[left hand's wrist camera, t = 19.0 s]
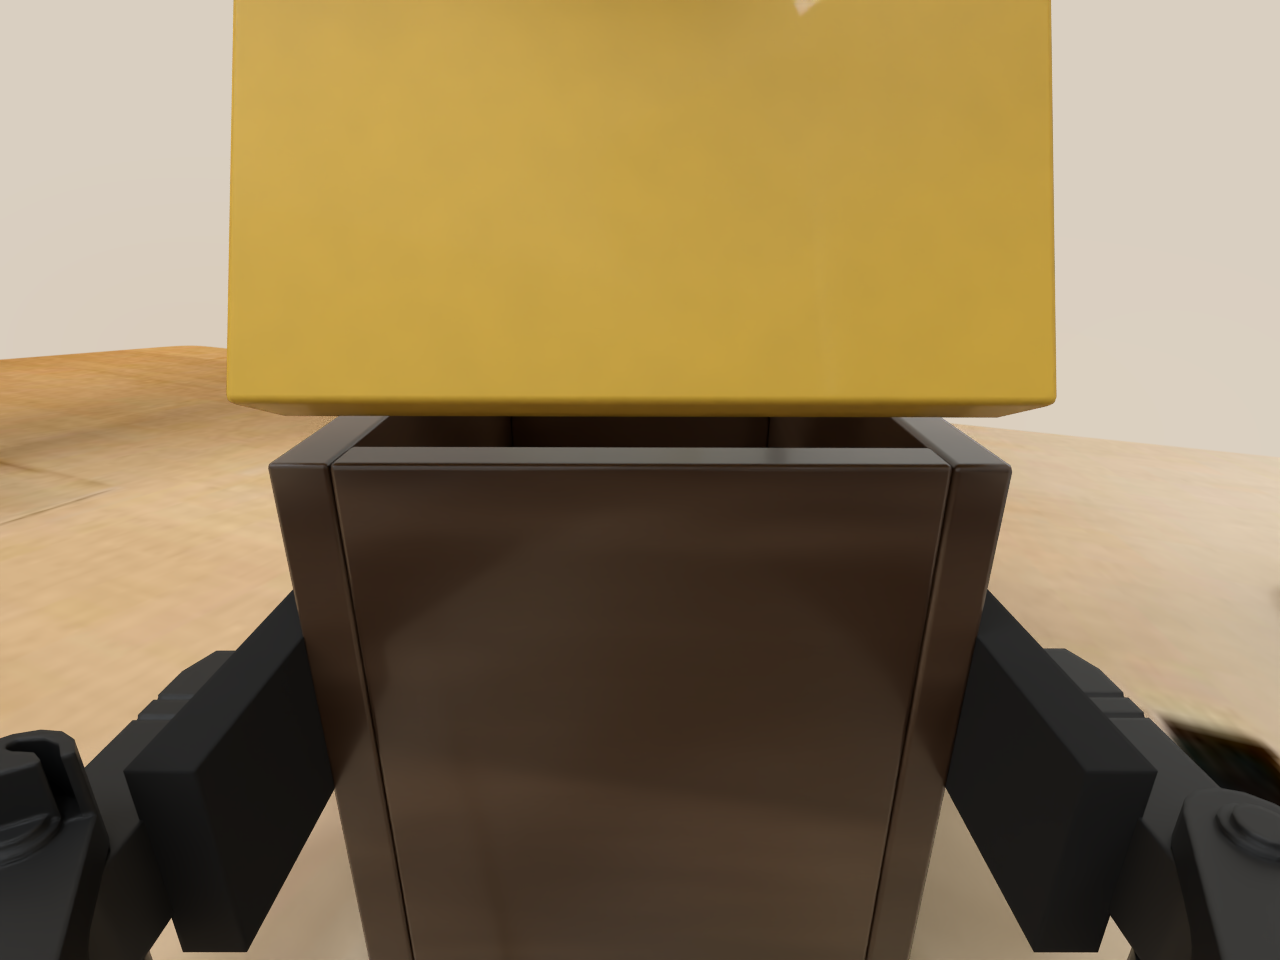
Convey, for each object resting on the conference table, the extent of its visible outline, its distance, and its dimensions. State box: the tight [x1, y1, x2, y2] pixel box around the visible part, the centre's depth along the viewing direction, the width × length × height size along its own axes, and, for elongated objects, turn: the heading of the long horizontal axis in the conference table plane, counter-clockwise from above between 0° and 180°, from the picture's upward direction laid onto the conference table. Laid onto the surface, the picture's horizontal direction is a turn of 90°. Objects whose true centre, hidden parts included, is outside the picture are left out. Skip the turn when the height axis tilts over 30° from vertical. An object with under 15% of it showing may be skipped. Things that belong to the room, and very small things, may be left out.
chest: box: [268, 416, 1012, 960], centre depth 17 cm, size 13×9×11 cm
